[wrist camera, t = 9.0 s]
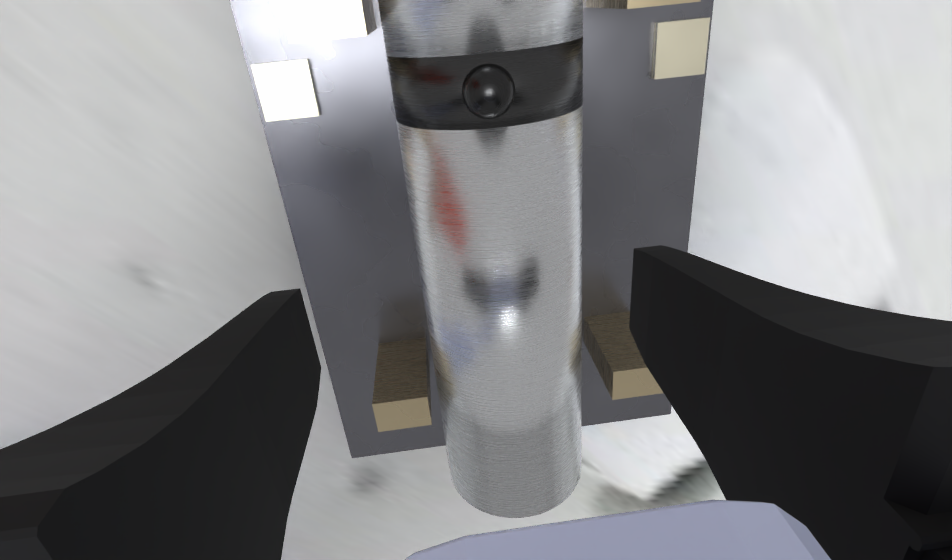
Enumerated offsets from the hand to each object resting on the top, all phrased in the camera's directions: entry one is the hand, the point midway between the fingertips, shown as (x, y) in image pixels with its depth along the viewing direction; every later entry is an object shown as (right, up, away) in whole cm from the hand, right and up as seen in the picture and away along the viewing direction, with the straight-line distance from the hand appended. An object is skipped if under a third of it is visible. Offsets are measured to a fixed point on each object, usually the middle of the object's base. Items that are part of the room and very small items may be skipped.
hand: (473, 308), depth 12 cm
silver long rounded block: (+1, +4, +7) cm, 8 cm away
